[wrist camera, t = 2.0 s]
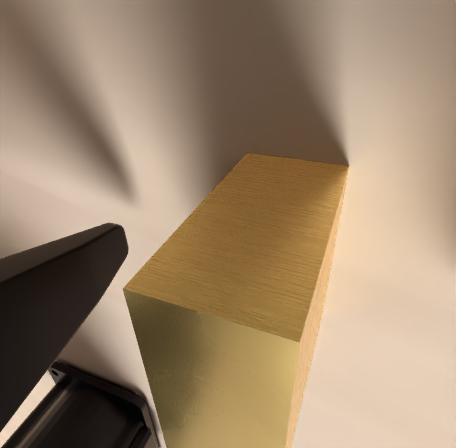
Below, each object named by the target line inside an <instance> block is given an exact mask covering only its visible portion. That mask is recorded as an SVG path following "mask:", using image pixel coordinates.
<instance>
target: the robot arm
mask: <svg viewBox="0 0 456 448" xmlns="http://www.w3.org/2000/svg"><path fill="white" fill-rule="evenodd" d="M127 255H128V244H127V239H126V235H125V231H124V228H123V227H122V226H121V225H118V224H114V223H106V224H103V225H100V226H97V227H94V228H91V229H88V230H85V231H82V232H79V233H76V234H73V235H70V236H67V237H64V238H61V239H58V240H55V241H52V242H49V243H46V244H43V245H40V246H37V247H34V248H31V249H28V250H25V251H23V252H20V253H17V254H14V255H11V256H8V257H5V258H2V259H0V432H1V431H2V429H3V428H4V427H5V425H6V424H7V423H8V422H9V420H10V419H11V418H12V416H13V415H14V414H15V412H16V411H17V410H18V408H19V407H20V406H21V404H22V403H23V402H24V400H25V399H26V398H27V396H28V395H29V394H30V392H31V391H32V390H33V388H34V387H35V386H36V384H37V383H38V382H39V380H40V379H41V378H42V376H43V375H44V374H45V372H46V371H47V370H49V372H50V374H51V376H52V378H53V380H54V381H55V383H56V385H55V386H54V387H53V388H52V389H51V390H50V392H49V393H48V394H47V395H46V396H45V397H44V398H43V400H42V401H41V402H40V403H39V404H38V405H37V407H36V408H35V409H34V410H33V411H32V412H31V413H30V415H29V416H28V417H27V418H26V419H25V420H24V422H23V423H22V424H21V425H20V426H19V427H18V429H17V430H16V431H15V432H14V433H13V434H12V435H11V437H10V438H9V439H8V440H7V441H6V442H5V444H4V445H3V446H2V447H1V448H159V445H158V442H157V438H156V435H155V432H154V428H153V425H152V422H151V418H150V415H149V411H148V408H147V405H146V403H145V401H144V400H143V399H141V398H140V397H138V396H136V395H134V394H132V393H129V392H127V391H125V390H122V389H120V388H117V387H115V386H113V385H110V384H108V383H106V382H103V381H101V380H99V379H96V378H94V377H91V376H89V375H87V374H84V373H82V372H80V371H77V370H75V369H73V368H70V367H68V366H65V365H63V364H61V363H58V362H54V360H55V359H56V358H57V356H58V355H59V354H60V352H61V351H62V350H63V348H64V347H65V346H66V345H67V343H68V342H69V341H70V339H71V338H72V337H73V335H74V334H75V333H76V331H77V330H78V329H79V327H80V326H81V325H82V323H83V322H84V321H85V319H86V318H87V317H88V315H89V314H90V313H91V311H92V310H93V309H94V307H95V306H96V305H97V303H98V302H99V300H100V299H101V298H102V296H103V294H104V293H105V291H106V290H107V288H108V286H109V285H110V283H111V282H112V280H113V278H114V277H115V275H116V273H117V272H118V270H119V268H120V267H121V265H122V263H123V262H124V260H125V259H126V257H127Z"/></svg>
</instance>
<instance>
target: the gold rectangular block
mask: <svg viewBox="0 0 456 448" xmlns="http://www.w3.org/2000/svg"><path fill="white" fill-rule="evenodd" d="M348 170H349V166H346V165H338V164H330V163H323V162H315V161H307V160H299V159H291V158H284V157H276V156H268V155H260V154H253V153H246V155H245V156H244V157H243V158H242V159H241V160H240V161H239V162H238V163H237V164H236V165H235V167H234V168H233V169H232V170H231V171H230V172H229V173H228V174H227V175H226V176H225V177H224V179H223V180H222V181H221V182H220V183H219V184H218V185H217V186H216V187H215V188H214V189H213V191H212V192H211V193H210V194H209V195H208V196H207V197H206V198H205V199H204V200H203V202H202V203H201V204H200V205H199V206H198V207H197V208H196V209H195V210H194V211H193V212H192V214H191V215H190V216H189V217H188V218H187V219H186V220H185V221H184V222H183V223H182V224H181V226H180V227H179V228H178V229H177V230H176V231H175V232H174V233H173V234H172V235H171V236H170V238H169V239H168V240H167V241H166V242H165V243H164V244H163V245H162V246H161V247H160V248H159V250H158V251H157V252H156V253H155V254H154V255H153V256H152V257H151V258H150V259H149V260H148V262H147V263H146V264H145V265H144V266H143V267H142V268H141V269H140V270H139V271H138V272H137V274H136V275H135V276H134V277H133V278H132V279H131V280H130V281H129V282H128V283H127V284H126V286H125V287H124V288H123V291H124V295H125V298H126V302H127V306H128V309H129V313H130V316H131V320H132V324H133V327H134V331H135V335H136V338H137V342H138V345H139V349H140V353H141V356H142V360H143V364H144V367H145V371H146V374H147V378H148V382H149V385H150V389H151V393H152V396H153V400H154V403H155V407H156V411H157V414H158V418H159V422H160V425H161V429H162V432H163V436H164V440H165V443H166V447H167V448H291V446H292V442H293V437H294V433H295V429H296V425H297V420H298V416H299V412H300V408H301V403H302V399H303V395H304V390H305V386H306V382H307V378H308V373H309V369H310V365H311V361H312V356H313V352H314V348H315V344H316V339H317V335H318V331H319V327H320V322H321V318H322V313H323V307H324V302H325V296H326V291H327V285H328V280H329V274H330V269H331V263H332V258H333V252H334V247H335V241H336V236H337V230H338V225H339V219H340V214H341V208H342V203H343V197H344V192H345V186H346V181H347V175H348Z"/></svg>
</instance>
